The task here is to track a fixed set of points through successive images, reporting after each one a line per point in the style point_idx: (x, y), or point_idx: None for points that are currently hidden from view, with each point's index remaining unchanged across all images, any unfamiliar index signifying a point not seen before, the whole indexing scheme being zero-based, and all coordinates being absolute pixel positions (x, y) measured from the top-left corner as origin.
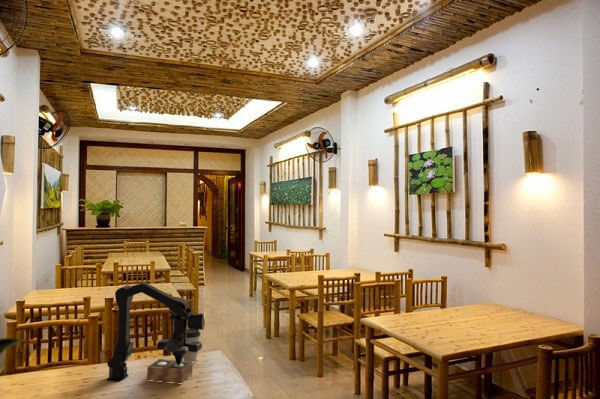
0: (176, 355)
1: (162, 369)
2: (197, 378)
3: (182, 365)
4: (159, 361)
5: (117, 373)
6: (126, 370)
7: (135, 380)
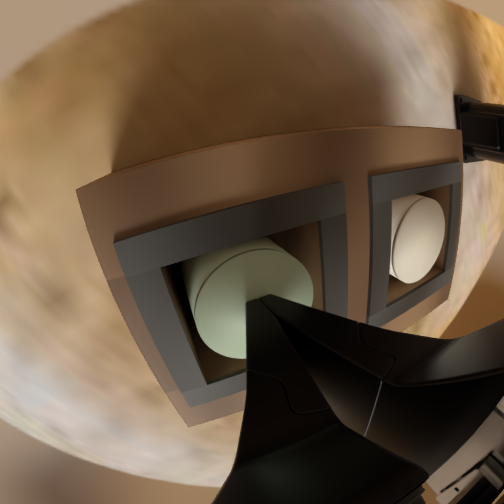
0: (370, 363)
1: (364, 129)
2: (97, 328)
3: (204, 324)
4: (441, 267)
5: (487, 105)
6: (485, 139)
7: (425, 121)
